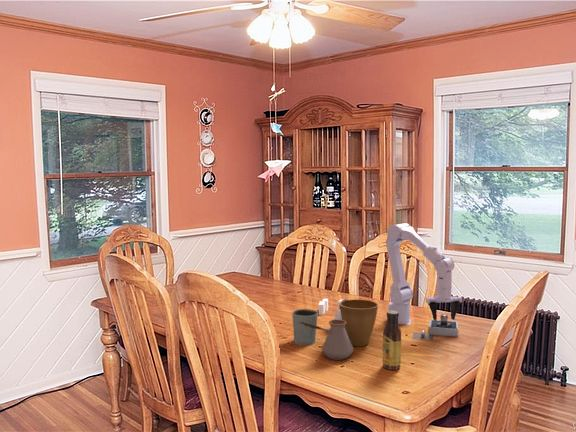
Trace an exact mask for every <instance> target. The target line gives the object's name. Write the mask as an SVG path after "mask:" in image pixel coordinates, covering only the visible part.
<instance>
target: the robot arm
mask: <svg viewBox="0 0 576 432" xmlns="http://www.w3.org/2000/svg"><path fill="white" fill-rule="evenodd" d="M386 234H387V236H386V240H385V245H386V251H387V255H388V261H389V267H390V272H391V278H392V284H391V285H390V294H389V296H390V297H389V298H390V302H389V303H388V309H387V311H390V310H393V311H398V312H399V316H398V325H411V322H412V319H411V300H412V299H413V297H414V291H413V289H412V287H411V284H410V283H409V282H408V281H407V278H406V276H405V270H404V264H403V260H402V255H401V254H402V253H401V249H400V244H401V243H403V241H404V240H405V241H410V242H411V243H413V245H414V246H416V247H417V248H418V249H420V250H421V251H422V256H423V257H424V258H426V260H427V261H429V262H430V263H431V264H432V266H433V267H434V270H435V271H436V275H437V276H436V277H437V279H436V296H430V297H425V303H426V304H428V306H429V309H430V311H431V314H432V315H431V316H432V320H438V319H437V316H438V315H437V312H438V311H437V310H438V305H437V303H440V304H441V303H450V309H451V310H450V319H451V320H452V321H455V319H456V315H457V312H458V310H459V308H460V307H461V303H463V297H461V296H452V277H453V276H452V275H453V273H452V272H453V270H454V268H455V262H454V260H453V259H452V257H447V256H446V255H445V254H443V253H442V252H441V251H440V250H439V249H438V247H437V246H434V245H429V244H428V243H427V242H426V241H425V240H424V239H423V238H422V237H421V236H420V235H419V234H418V233H417V232H416V231H415V228H414V227H413V226H411V225H410V224H409V223H408V222H407V223H406V222H403V223H398V224H397V223H396V224H391V225H390V226H388V229H386ZM391 301H392V302H391Z"/></svg>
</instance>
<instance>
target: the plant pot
mask: <svg viewBox="0 0 576 432" xmlns="http://www.w3.org/2000/svg"><path fill="white" fill-rule="evenodd" d="M378 308H379V304H378V303H377V302H375V301H373V300H372V301H371V300H368V299H367V300H366V299H347V300H345V301H342V302H340V311H341V317H342V320H344V321H346V324H345V330H346V332H347V335H348V337H349V339H350V342H351V344H352V346H353V347H365V346H367V345H368V344H369V342H370V338H371V336H372V333H373V331H374V327H375V324H376V319H377V315H378V314H377V313H378Z"/></svg>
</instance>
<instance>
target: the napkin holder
mask: <svg viewBox="0 0 576 432" xmlns="http://www.w3.org/2000/svg"><path fill="white" fill-rule="evenodd" d="M328 310H329V298H322V300H319V302H318V315H319V316H324V315H325V312H328Z"/></svg>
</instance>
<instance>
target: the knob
mask: <svg viewBox="0 0 576 432" xmlns="http://www.w3.org/2000/svg"><path fill="white" fill-rule="evenodd" d="M440 320H441V322H439V323H437V324H436V327H438V328H452V324H451V323H448V321H449V320H448V314H440ZM452 329H453V328H452Z"/></svg>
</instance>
